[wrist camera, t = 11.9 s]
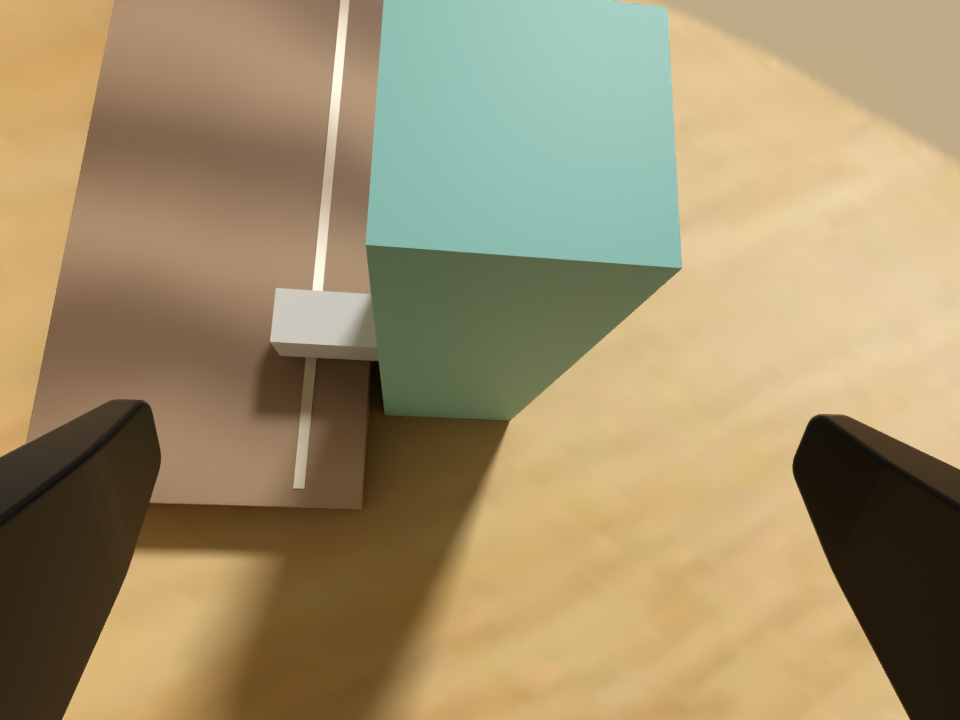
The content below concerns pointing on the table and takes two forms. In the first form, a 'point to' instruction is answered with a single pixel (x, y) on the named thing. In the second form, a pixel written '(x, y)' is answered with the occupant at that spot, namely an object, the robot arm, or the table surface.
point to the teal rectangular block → (503, 201)
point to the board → (222, 244)
